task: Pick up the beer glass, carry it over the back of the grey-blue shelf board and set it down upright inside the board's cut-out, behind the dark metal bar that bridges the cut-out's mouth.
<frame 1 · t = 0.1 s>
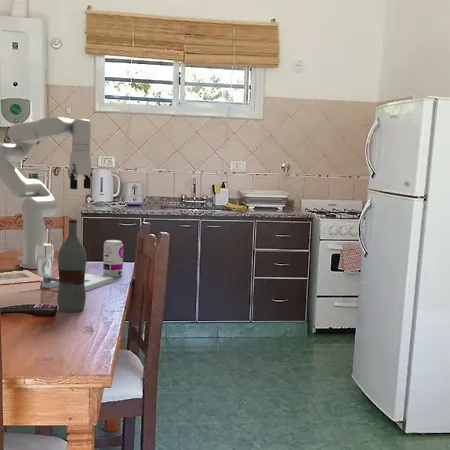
hand: (80, 188, 239), 37 cm above the table, tool pointing down, fingers open, 9 cm apart
bottle: (71, 309, 185), on the table
shelf board: (78, 284, 221), on the table
beer glass: (44, 281, 224), on the table
supplement can: (112, 275, 241), on the table
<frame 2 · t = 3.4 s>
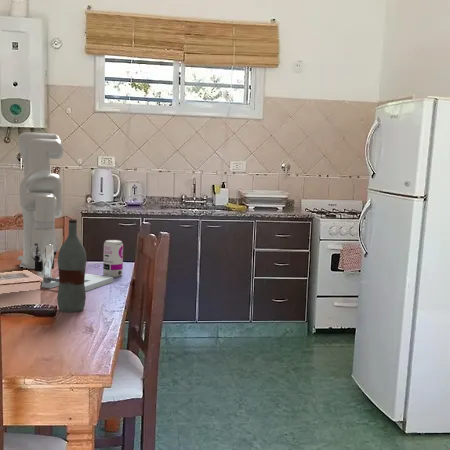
hand: (44, 269, 224), 5 cm above the table, tool pointing down, fingers closed on beer glass, 6 cm apart
beer glass: (44, 281, 224), on the table, touching gripper
everything else where it was.
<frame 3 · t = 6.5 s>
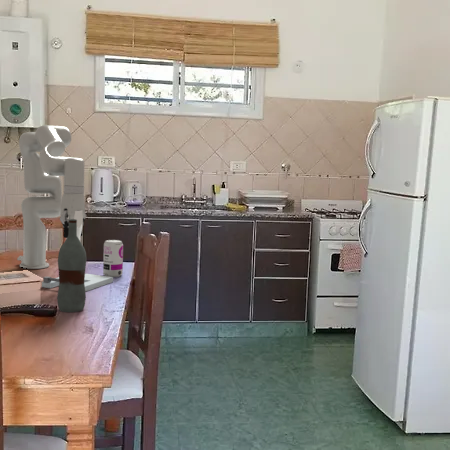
hand: (73, 236, 215), 20 cm above the table, tool pointing down, fingers closed on beer glass, 6 cm apart
beer glass: (73, 248, 215), point 15 cm above the table, touching gripper
everything else where it was.
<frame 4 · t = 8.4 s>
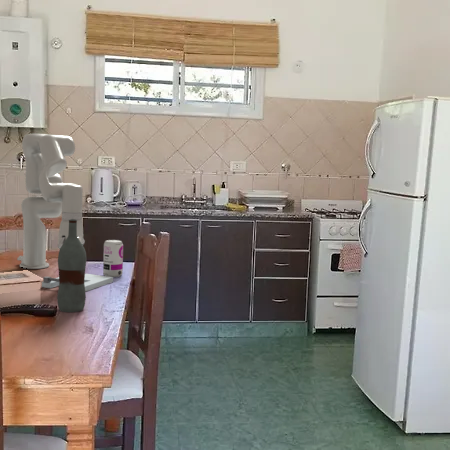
hand: (71, 262, 215), 10 cm above the table, tool pointing down, fingers closed on beer glass, 6 cm apart
beer glass: (71, 274, 215), point 5 cm above the table, touching gripper
everything else where it was.
when the fingers open (6 cm above the table, at t = 9.7 s): beer glass drops 1 cm, on the table.
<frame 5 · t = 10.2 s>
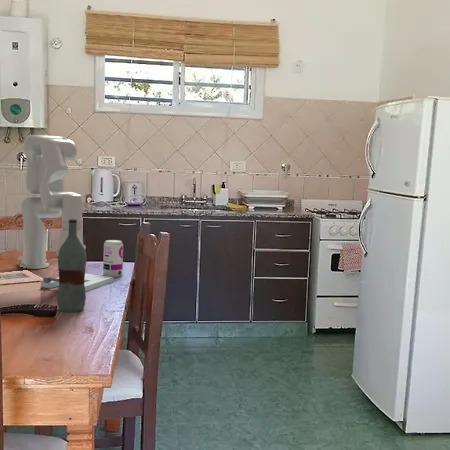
hand: (71, 269, 215), 7 cm above the table, tool pointing down, fingers open, 9 cm apart
beer glass: (70, 287, 216), on the table
everything else where it was.
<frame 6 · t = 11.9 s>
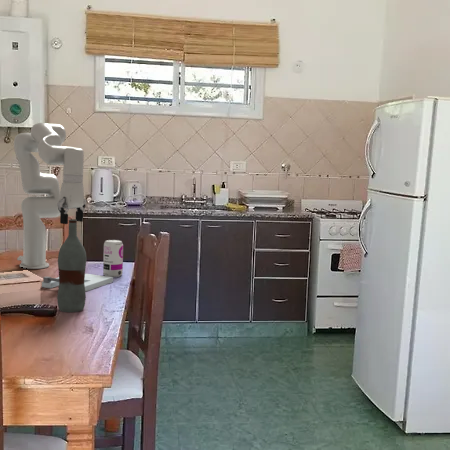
hand: (71, 222, 220), 24 cm above the table, tool pointing down, fingers open, 9 cm apart
nothing on the table moved.
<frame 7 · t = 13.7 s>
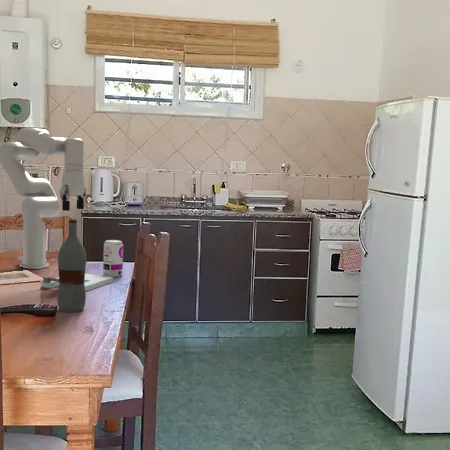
hand: (73, 209, 232), 28 cm above the table, tool pointing down, fingers open, 9 cm apart
nothing on the table moved.
at the end: beer glass inside the target area (0.2 cm from its centre), on the table; beer glass tilted 0°; the gripper is holding nothing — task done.
